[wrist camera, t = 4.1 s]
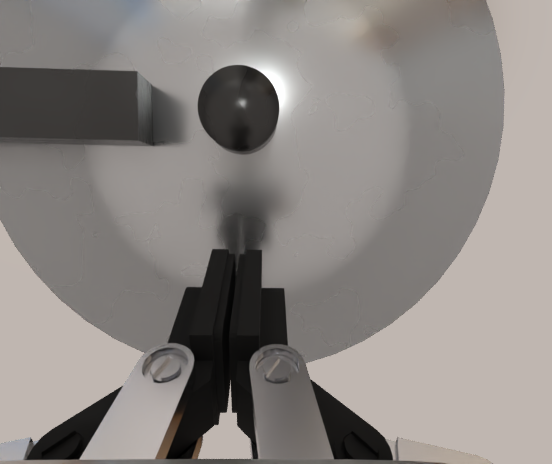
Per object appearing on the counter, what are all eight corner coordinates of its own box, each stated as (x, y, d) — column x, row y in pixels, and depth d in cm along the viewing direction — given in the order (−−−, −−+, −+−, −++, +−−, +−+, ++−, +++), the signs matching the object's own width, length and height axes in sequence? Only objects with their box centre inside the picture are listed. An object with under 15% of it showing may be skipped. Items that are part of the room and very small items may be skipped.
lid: (-125, -201, 12) (-232, -309, 9) (512, -169, 12) (575, -262, 10) (-74, 357, 14) (-150, 394, 11) (468, 361, 14) (510, 397, 12)
